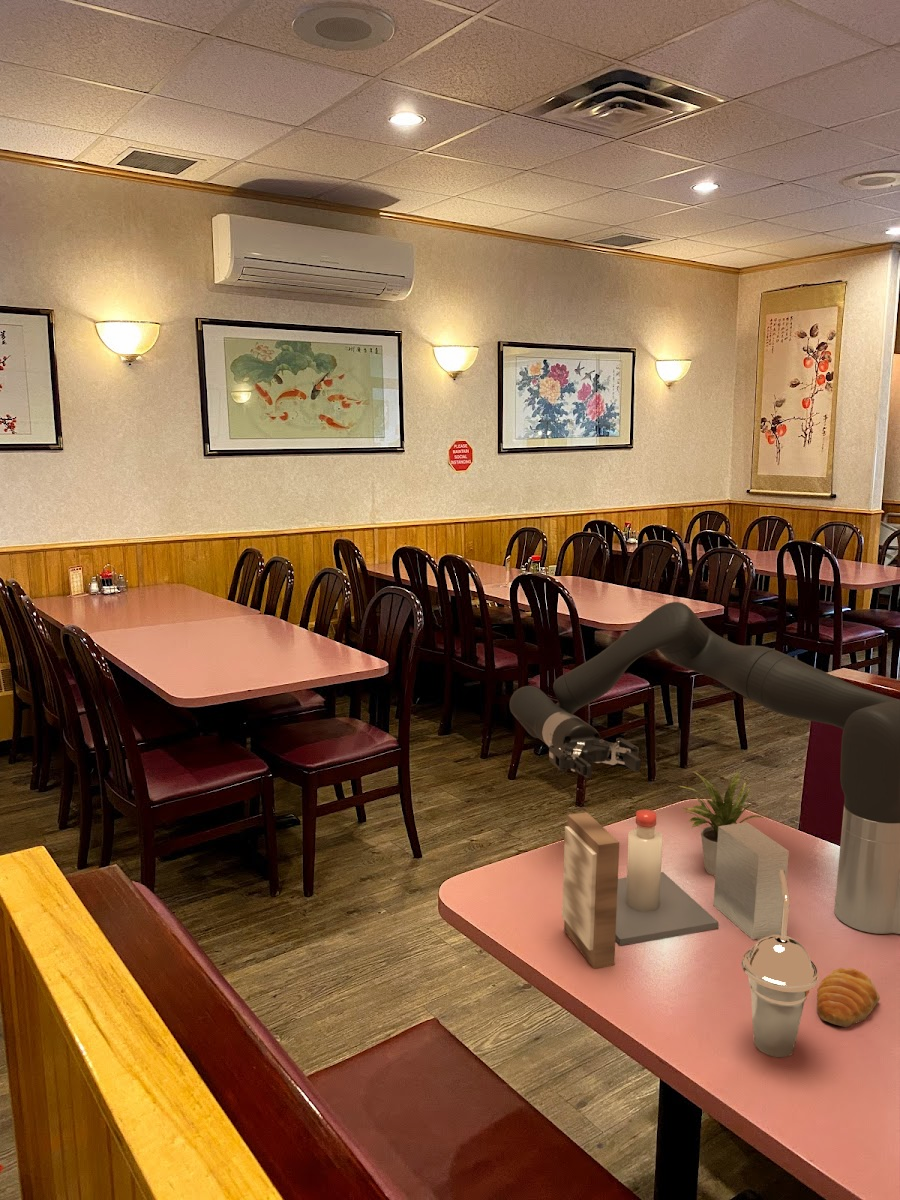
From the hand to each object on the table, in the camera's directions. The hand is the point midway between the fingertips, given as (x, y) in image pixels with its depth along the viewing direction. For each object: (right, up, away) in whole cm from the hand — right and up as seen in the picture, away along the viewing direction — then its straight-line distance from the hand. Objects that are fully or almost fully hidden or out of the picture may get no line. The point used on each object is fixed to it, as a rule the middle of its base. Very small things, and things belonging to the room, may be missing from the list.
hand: (613, 768), depth 146 cm
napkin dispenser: (+18, -21, -9) cm, 29 cm away
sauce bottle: (+3, -19, -7) cm, 21 cm away
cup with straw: (+13, -26, -37) cm, 47 cm away
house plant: (+19, -18, +7) cm, 27 cm away
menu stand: (-7, -22, -17) cm, 28 cm away
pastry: (+24, -25, -29) cm, 46 cm away
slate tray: (+3, -20, -6) cm, 21 cm away
